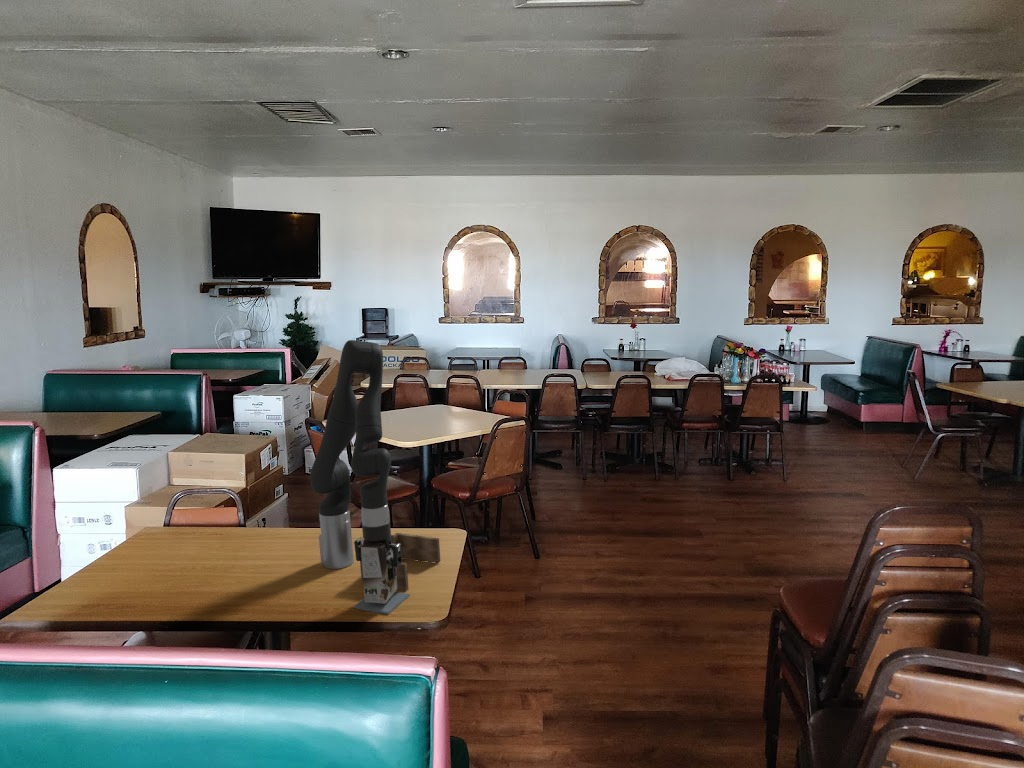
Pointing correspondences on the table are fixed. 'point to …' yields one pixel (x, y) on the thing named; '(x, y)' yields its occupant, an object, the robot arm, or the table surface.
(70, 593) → the table surface
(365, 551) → the coffee box
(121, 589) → the table surface
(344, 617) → the table surface
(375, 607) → the mat
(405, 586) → the cubby
